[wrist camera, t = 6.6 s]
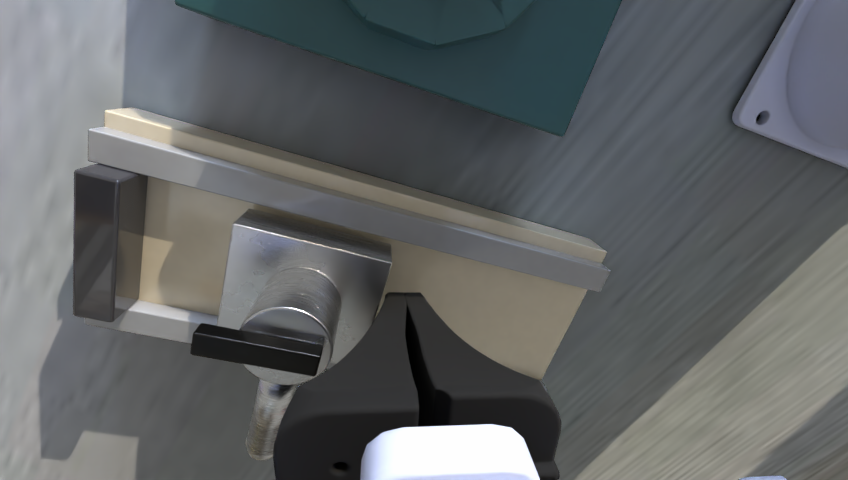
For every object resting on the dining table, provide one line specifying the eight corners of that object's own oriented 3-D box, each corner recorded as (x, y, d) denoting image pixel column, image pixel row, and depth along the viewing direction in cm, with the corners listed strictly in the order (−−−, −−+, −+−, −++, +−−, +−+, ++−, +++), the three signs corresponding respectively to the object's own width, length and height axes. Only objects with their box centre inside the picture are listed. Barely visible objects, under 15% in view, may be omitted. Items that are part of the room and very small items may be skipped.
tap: (392, 243, 14) (395, 310, 10) (345, 395, 17) (332, 500, 12) (248, 207, 13) (186, 264, 9) (221, 374, 16) (161, 480, 11)
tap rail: (589, 238, 17) (631, 270, 14) (518, 381, 20) (542, 433, 17) (132, 106, 13) (64, 113, 10) (121, 304, 16) (64, 352, 13)
